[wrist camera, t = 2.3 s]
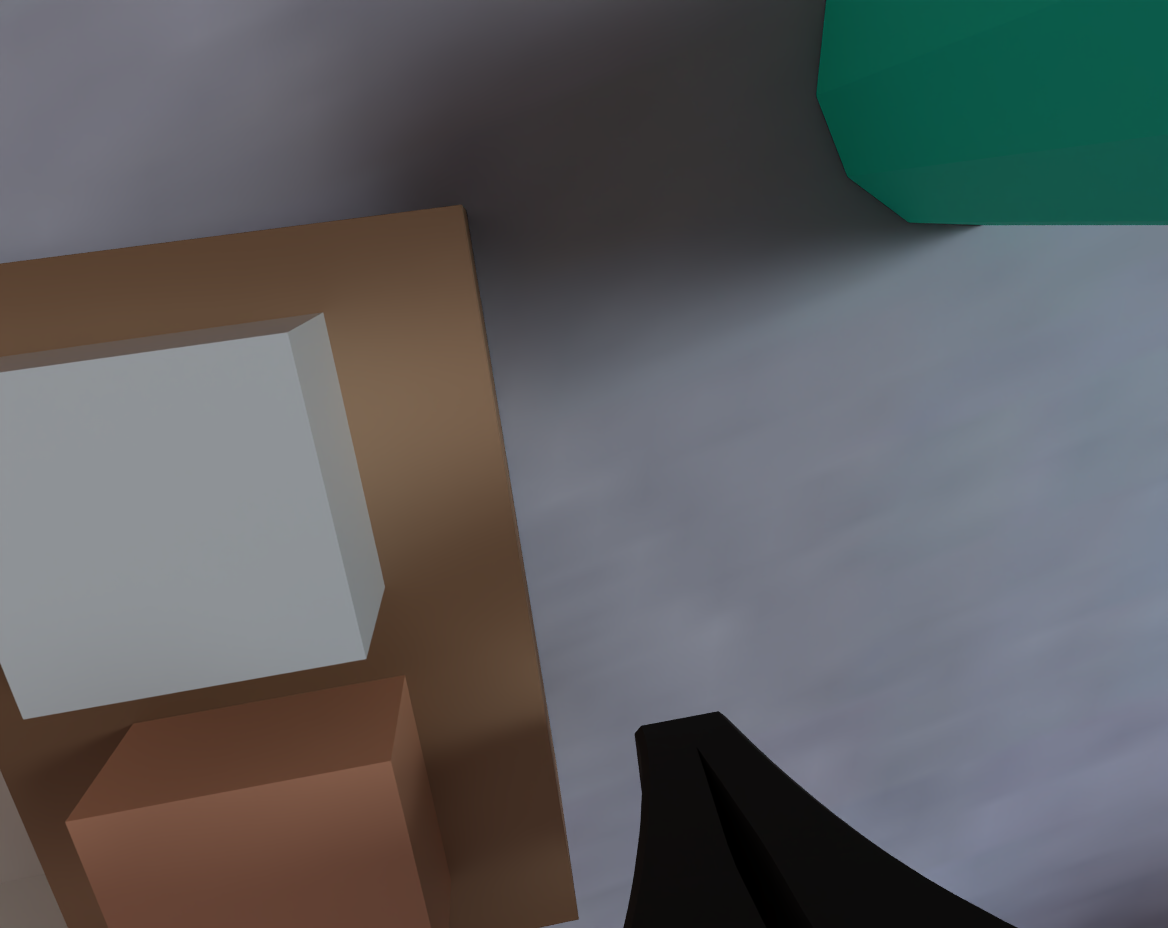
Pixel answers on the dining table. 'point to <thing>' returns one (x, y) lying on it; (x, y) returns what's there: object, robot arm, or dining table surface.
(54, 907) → the tray
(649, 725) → the robot arm
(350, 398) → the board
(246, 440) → the grey rectangular prism
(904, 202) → the candle
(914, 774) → the dining table surface
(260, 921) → the tile terracotta
